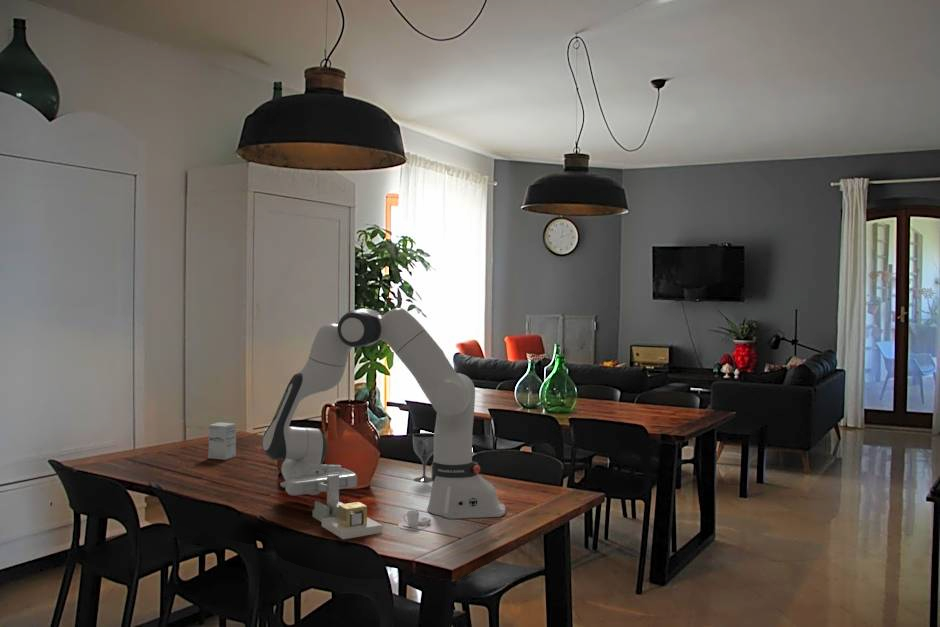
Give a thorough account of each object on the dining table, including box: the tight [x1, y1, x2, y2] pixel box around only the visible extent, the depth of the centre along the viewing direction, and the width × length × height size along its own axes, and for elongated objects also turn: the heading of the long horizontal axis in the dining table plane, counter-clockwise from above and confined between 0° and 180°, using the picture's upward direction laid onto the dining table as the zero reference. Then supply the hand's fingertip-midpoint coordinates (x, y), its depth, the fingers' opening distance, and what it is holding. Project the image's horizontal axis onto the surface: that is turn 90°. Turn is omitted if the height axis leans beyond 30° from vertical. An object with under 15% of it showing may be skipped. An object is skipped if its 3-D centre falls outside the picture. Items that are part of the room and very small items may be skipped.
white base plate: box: [321, 516, 383, 540], centre depth 210 cm, size 14×11×2 cm
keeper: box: [338, 501, 368, 528], centre depth 208 cm, size 5×6×5 cm
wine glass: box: [412, 432, 434, 483], centre depth 267 cm, size 8×8×15 cm
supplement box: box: [207, 422, 237, 461], centre depth 297 cm, size 7×7×13 cm
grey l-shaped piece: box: [326, 474, 362, 525], centre depth 213 cm, size 15×3×10 cm, turn 34°
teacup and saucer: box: [397, 510, 432, 531], centre depth 214 cm, size 9×8×4 cm
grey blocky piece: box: [312, 500, 335, 523], centre depth 220 cm, size 8×7×4 cm
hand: (332, 488), depth 219 cm, fingers closed, pressing on grey l-shaped piece
